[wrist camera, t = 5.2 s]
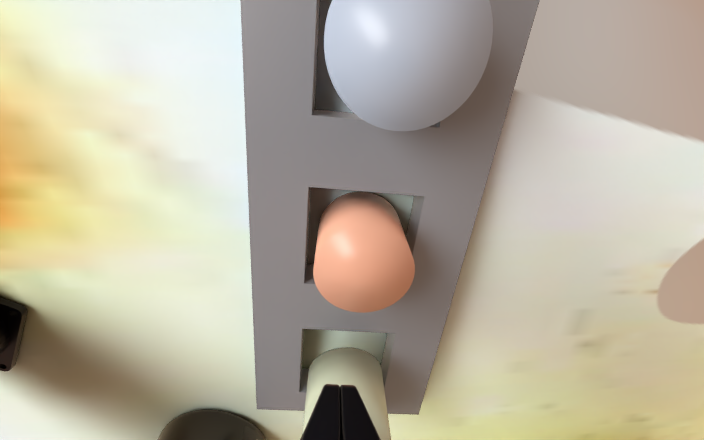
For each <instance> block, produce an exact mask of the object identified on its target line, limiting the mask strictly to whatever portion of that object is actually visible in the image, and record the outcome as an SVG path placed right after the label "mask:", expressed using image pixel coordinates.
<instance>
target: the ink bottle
mask: <svg viewBox="0 0 704 440" xmlns="http://www.w3.org/2000/svg"><path fill="white" fill-rule="evenodd" d="M158 440H265V437H264V435H263V434H262V432H261V431H260V430H259V429H258V428H257V427H256V426H255V425H253V424H252V423H250V422H249V421H247V420H245V419H243V418H241V417H239V416H236V415H234V414H231V413H227V412H223V411H217V410H197V411H192V412H188V413H185V414H183V415H181V416H179V417H177V418H175V419H173V420H172V421H171V422H169V423H168V424H167V425H166V426H165V428H164V429H163V430H162V432H161V434H160V436H159V438H158Z"/></svg>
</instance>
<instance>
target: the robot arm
mask: <svg viewBox="0 0 704 440" xmlns="http://www.w3.org/2000/svg"><path fill="white" fill-rule="evenodd" d="M26 316H27V309H26V308H25V307H24V306H23V305H21V304H18V303H15V302H12V301H9V300H6V299H4V298H1V297H0V370H1V371H9V370H10V369H11V368H12V367H14V366H15V364H16V360H17V355H18V351H19V346H20V342H21V338H22V333H23V329H24V324H25V320H26ZM300 440H381V439H380V437H379V435H378V433H377V430H376V428H375V426H374V424H373V422H372V420H371V417H370V415H369V413H368V411H367V409H366V407H365V405H364V402H363V400H362V398H361V396H360V394H359V392H358V390H357V388H356V386H354V385H341V386H340V387H339V385H337V384H325V385H324V386H323V388H322V391H321V393H320V395H319V398H318V400H317V402H316V405H315V407H314V409H313V412H312V414H311V416H310V419H309V421H308V423H307V425H306V428H305V430H304V432H303V435H302V437H301V439H300Z"/></svg>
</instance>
